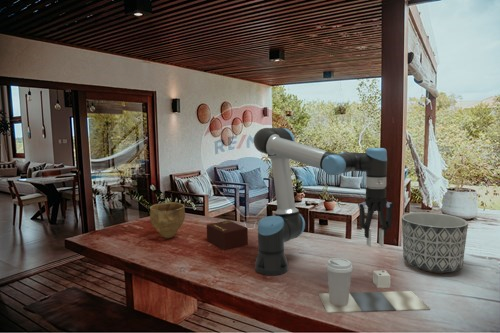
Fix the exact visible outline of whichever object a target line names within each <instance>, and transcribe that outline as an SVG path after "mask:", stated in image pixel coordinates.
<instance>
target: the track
mask: <svg viewBox="0 0 500 333" xmlns="http://www.w3.org/2000/svg"><path fill="white" fill-rule="evenodd" d="M318 296H319V299H320V301H321V303H322V305H323V307H324V310H325V312H326V313H327V314H330V313H331V314H332V313H334V314H335V313H365V312H366V313H368V312H374V313H375V312H399V311H401V312H403V311H430V310H431V308H430V307H429V306H428V305H427V304H426V303H425V302H424V301H423V300H422V299H421V298H420V297H419V296H417V294H416V293H414V292H413V291H412V290H403V291H401V290H400V291H399V290H398V291H397V290H396V291H367V292H366V291H365V292H363V291H361V292H359V291H358V292H349V300H348V304H347V305H346V306H336V305H333V304H331V303H330V298H329V292H328V293H326V292H325V293H318Z"/></svg>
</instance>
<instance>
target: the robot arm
mask: <svg viewBox="0 0 500 333" xmlns="http://www.w3.org/2000/svg"><path fill="white" fill-rule="evenodd" d="M253 145H254V148H255V149H256V150H257V151H258V152H260V153H263V154H264V155H265V154H266V155H267V158H268V159H269V160H271V167H272V174H273V183H274V184H273V185H274V191H275V201H276V208H277V209H276V211H275V212H274V215H270V216H265V217H262V218H261V219H260V220H258V223H257V224H258V225H257V240H258V246H257V247H258V253H257V256H256V259H255V263H254V270H255V272H257V273H258V274H261V275H265V276H280V275H283V274H285V273H287V272H288V270H289V263H288V260H287V257H286V255H285V243H287V242H289V241H291V240H294V239H296V238H298V237H299V236H300V237H301V235H302V234H303V232H304V231H305V228H306V221H305V219H304V217H303V216H302V214H301V213H300V211H299V209H298V208H296V205H295V204H296V203H295V197H294V196H295V195H294V188H293V178H292V172H291V165H290V164H291V163H290V160H291V161H294V162H298V163H301V164H304V165H307V166H310V167H314V168H315V169H319V170H323V171H324V173H325V174H327V175H329V176H338V175H341V174H345V173H350V172H365V187H366V188H365V200H364V201H363V202H361V203H360V202H358V203H357V206H358V208H359V228H361V229H363V230H364V234H363V235H364V238H365V239H366V246H368V247H369V248H370V247H372V230H371V229H370V227H371V223H372V218H373V216H374V213H375V212H377V214H378V218H379V224H380V228H378V245H379V246H380V247H384V238H386V236H387V230H388V229H391V228H392V215H393V213H392V212H393V208H394V206H395V204H394V203H393V202H390V201H387V188H386V187H387V170H388V169H387V168H388V155H387V154H388V152H387V149H386V148H384V147H368V148H366V150H365V151H366V152H350V151H343V152H341V151H340V152H339V153H335V152H332V151H328V150H326V149H325V150H324V149H321V148H318V147H314V146H311V145H308V144H303V143H299V142H297V141H295V136H294V134H293V133H292V131H291V130H289V129H288V128H286V127H264V128H261V129H259V130H257V132H256V133H255V134H254V136H253ZM366 207H367V212H366V213H367V214H366V213H365V211H366V210H365V208H366ZM385 207H386V208H385ZM384 208H385V211H384ZM384 213H385V214H384Z"/></svg>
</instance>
